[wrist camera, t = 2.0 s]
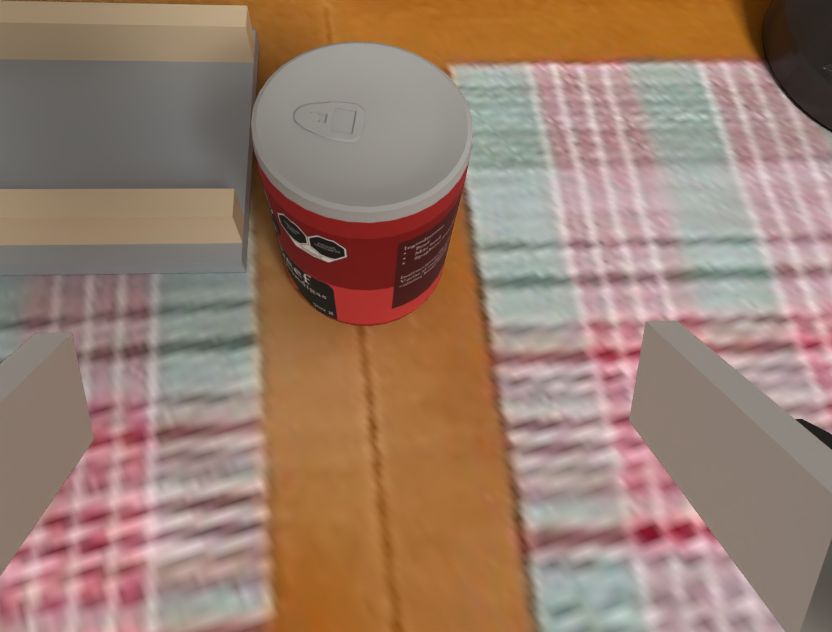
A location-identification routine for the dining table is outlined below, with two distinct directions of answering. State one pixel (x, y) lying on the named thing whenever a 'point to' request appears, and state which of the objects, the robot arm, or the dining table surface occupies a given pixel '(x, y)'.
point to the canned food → (362, 175)
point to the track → (125, 137)
